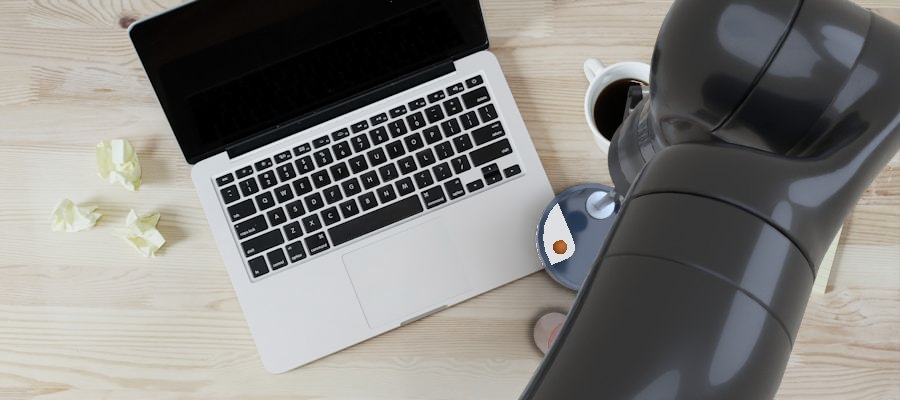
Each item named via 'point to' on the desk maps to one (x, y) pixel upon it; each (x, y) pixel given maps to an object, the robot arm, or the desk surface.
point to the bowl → (576, 234)
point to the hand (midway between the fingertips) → (626, 186)
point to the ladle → (600, 204)
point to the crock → (547, 330)
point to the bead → (560, 247)
